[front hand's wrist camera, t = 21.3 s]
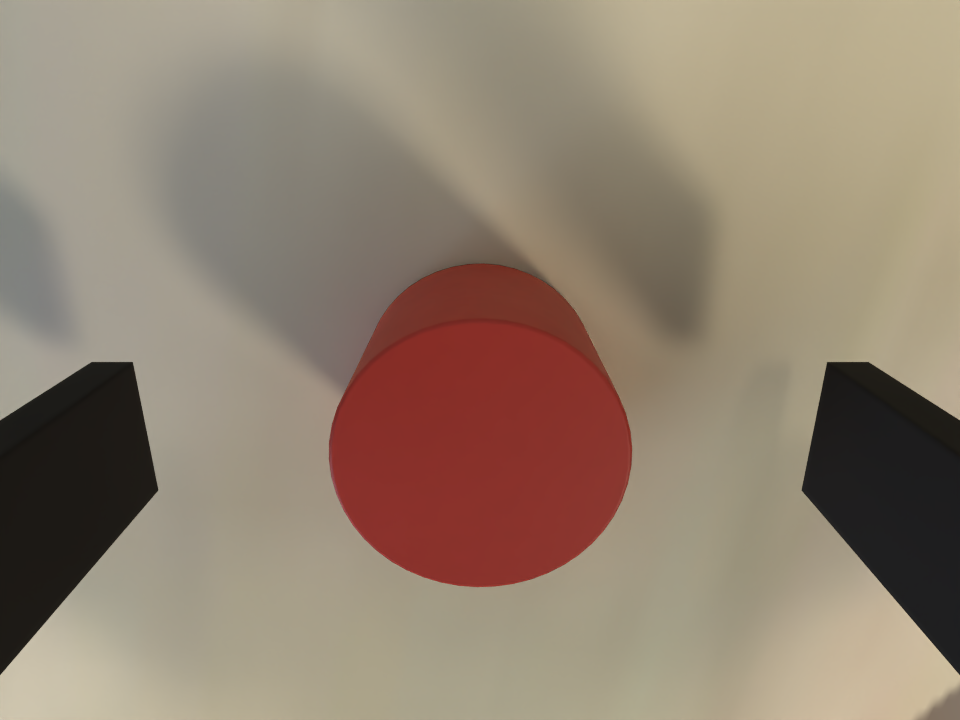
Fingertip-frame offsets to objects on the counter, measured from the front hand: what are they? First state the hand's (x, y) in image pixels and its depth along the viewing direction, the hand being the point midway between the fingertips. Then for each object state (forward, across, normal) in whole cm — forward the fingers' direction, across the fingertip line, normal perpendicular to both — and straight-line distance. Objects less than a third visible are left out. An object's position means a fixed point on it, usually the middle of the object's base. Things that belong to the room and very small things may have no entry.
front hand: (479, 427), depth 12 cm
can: (+2, 0, 0) cm, 2 cm away
